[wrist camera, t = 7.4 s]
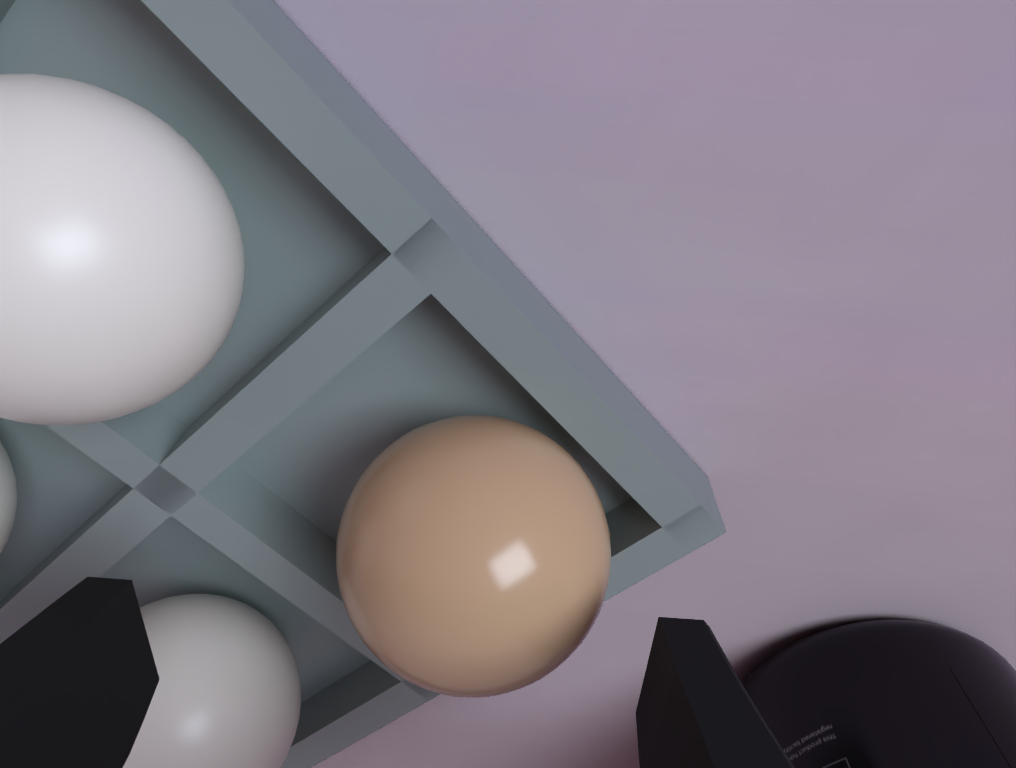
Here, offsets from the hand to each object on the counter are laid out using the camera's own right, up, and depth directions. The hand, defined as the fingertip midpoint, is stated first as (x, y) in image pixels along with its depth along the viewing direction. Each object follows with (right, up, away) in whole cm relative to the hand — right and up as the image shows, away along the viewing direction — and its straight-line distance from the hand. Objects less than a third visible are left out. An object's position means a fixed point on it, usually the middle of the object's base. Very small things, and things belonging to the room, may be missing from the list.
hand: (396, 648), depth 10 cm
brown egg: (0, +2, +3) cm, 4 cm away
